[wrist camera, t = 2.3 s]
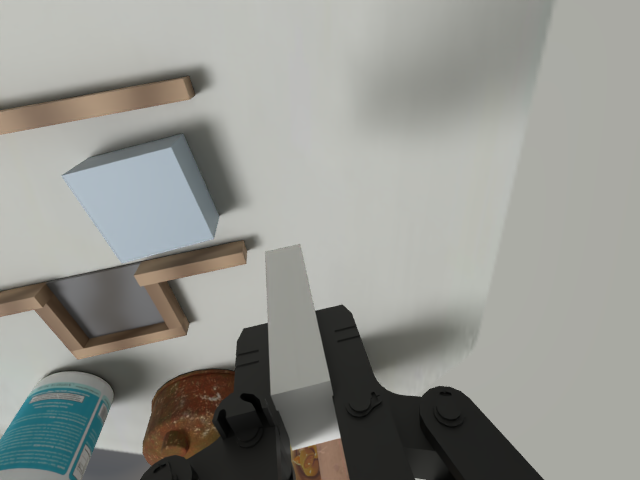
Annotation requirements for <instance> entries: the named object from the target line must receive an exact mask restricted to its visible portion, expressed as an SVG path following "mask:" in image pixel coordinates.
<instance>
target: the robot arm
mask: <svg viewBox="0 0 640 480" xmlns="http://www.w3.org/2000/svg"><path fill="white" fill-rule="evenodd" d="M265 262H266V287H267V313H268V323H266V324H261V325H257V326H253V327H249V328H244V329H243V331H242V333H241V335H240V337H239V339H238V341H237V349H236V364H235V367H236V369H235V378H234V392H233V393H231V394H230V395H228V396H227V397H226V398H225V399H223V400H222V401H221V403H220V404H219V406H218V407H217V409H216V410H215V412H214V416H213V419H212V423H213V424H214V426H215V428H216V429H217V431H218V433H219V434H220V437H219V438H218V439H217V440H216V441H215V442H213V443H212V444H211V445H209V446H208V447H206V448H205V449H203V450H201V451H200V452H198V453H196V454H195V455H193V456H191V457H190V458H188V459H185V458H184V457H181V456H178V455H173V456H168V457H164V458H163V459H161V460H159V461H158V462H156V463H154V464H153V465H152V466H151V467H150V468H149V469H148V470H147V471H146V472H145V473H144V474H143V476H142V478H141V479H140V480H296V475H295V471H294V467H293V464H292V462H291V450H290V445H291V448H292V450H296V449H300V448H304V447H308V446H312V445H315V444H319V443H323V442H327V441H331V440H335V439H339V438H341V441H342V446H343V451H344V455H345V460H346V465H347V470H348V474H349V479H350V480H415V478H419V479H426V480H544V479H543V478H542V477H541V476H540V475H539V474H538V473H537V472H536V471H535V469H534V468H533V467H532V466H531V465H530V464H529V463H528V462H527V461H526V460H525V459H524V457H523V456H522V455H521V454H520V453H519V452H518V451H517V450H516V449H515V448H514V446H513V445H512V444H511V443H510V442H509V441H508V440H507V439H506V438H505V437H504V436H503V434H502V433H501V432H500V431H499V430H498V429H497V428H496V427H495V426H494V425H493V423H492V422H491V421H490V420H489V419H488V418H487V417H486V416H485V415H484V414H483V413H482V412H481V411H480V409H479V408H478V407H477V406H476V405H475V404H474V403H473V402H472V401H471V399H470V398H468V397H467V396H466V395H465V394H463V393H462V392H461V391H459V390H456V389H454V388H451V387H444V386H438V387H435V388H432V389H429V390H428V391H427V392H426V393H425V394H424V395H423V396H422V397H417V396H405V395H399V394H395V393H392V392H390V391H388V390H386V389H385V388H384V387H382V386H381V385H380V384H379V382H378V381H377V380H376V378H375V376H374V374H373V371H372V368H371V366H370V363H369V360H368V357H367V354H366V352H365V349H364V346H363V343H362V340H361V338H360V335H359V332H358V329H357V327H356V324H355V321H354V318H353V315H352V313H351V312H350V311H349V310H348V309H347V308H346V307H345V306H343V305H339V306H334V307H330V308H326V309H322V310H317V311H315V309H314V304H313V300H312V295H311V291H310V286H309V282H308V277H307V272H306V268H305V263H304V259H303V254H302V250H301V245H300V244H298V245H294V246H289V247H285V248H280V249H276V250H271V251H267V252H265Z"/></svg>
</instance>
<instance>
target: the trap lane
mask: <svg viewBox="0 0 640 480" xmlns="http://www.w3.org/2000/svg"><path fill="white" fill-rule="evenodd" d="M194 96H195V93H194V90H193V87H192V84H191V81H190V78H189V76H186V77H181V78H175V79H170V80H164V81H159V82H153V83H148V84H142V85H137V86H131V87H126V88H120V89H115V90H109V91H104V92H98V93H93V94H87V95H82V96H76V97H71V98H65V99H60V100H54V101H49V102H43V103H38V104H32V105H27V106H21V107H16V108H10V109H5V110H0V135H2V134H7V133H12V132H18V131H23V130H29V129H34V128H39V127H45V126H50V125H55V124H61V123H66V122H71V121H77V120H82V119H88V118H93V117H98V116H104V115H109V114H114V113H120V112H125V111H131V110H136V109H141V108H147V107H152V106H157V105H163V104H168V103H174V102H179V101H184V100H190V99H191V98H192V97H194ZM246 259H247V250H246V247H245V244H244V240H242V241H237V242H232V243H227V244H223V245H218V246H213V247H209V248H204V249H199V250H194V251H190V252H185V253H180V254H175V255H171V256H166V257H161V258H157V259H152V260H147V261H142V262H138V263H133V264H128V265H124V266H119V267H114V268H109V269H105V270H100V271H95V272H90V273H86V274H81V275H76V276H72V277H67V278H62V279H57V280H53V281H48V282H43V283H38V284H34V285H29V286H24V287H20V288H15V289H10V290H5V291H1V292H0V317H2V316H7V315H11V314H16V313H21V312H25V311H30V310H35V311H36V312H37V314H38V315H39V316H40V317H41V318H42V319H43V320H44V322H45V323H46V324H47V325H48V326H49V327H50V329H51V330H52V331H53V332H54V333H55V334H56V335H57V337H58V338H59V339H60V340H61V341H62V342H63V343H64V345H65V346H66V347H67V348H68V349H69V350H70V352H71V353H72V354H73V355H74V356H75V357H76V358H77V360H79V359H83V358H87V357H92V356H96V355H101V354H105V353H110V352H114V351H119V350H123V349H127V348H132V347H136V346H141V345H145V344H150V343H154V342H158V341H163V340H167V339H172V338H176V337H181V336H185V335H187V331H188V327H189V322H188V320H187V318H186V316H185V315H184V313H183V311H182V309H181V307H180V305H179V303H178V301H177V299H176V297H175V296H174V294H173V292H172V290H171V288H170V286H169V284H168V282H167V281H169V280H174V279H178V278H183V277H187V276H192V275H197V274H201V273H206V272H211V271H215V270H220V269H225V268H229V267H234V266H238V265H243V264H246Z"/></svg>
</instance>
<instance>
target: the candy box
mask: <svg viewBox="0 0 640 480" xmlns="http://www.w3.org/2000/svg"><path fill="white" fill-rule="evenodd" d="M290 450H291V462H292V464H293V467H294V471H295V475H296V480H321V474H320V468H319V461H318V454H317V447H316V444H315V445H312V446H308V447H304V448H300V449H296V450H292V448H291V445H290Z"/></svg>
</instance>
